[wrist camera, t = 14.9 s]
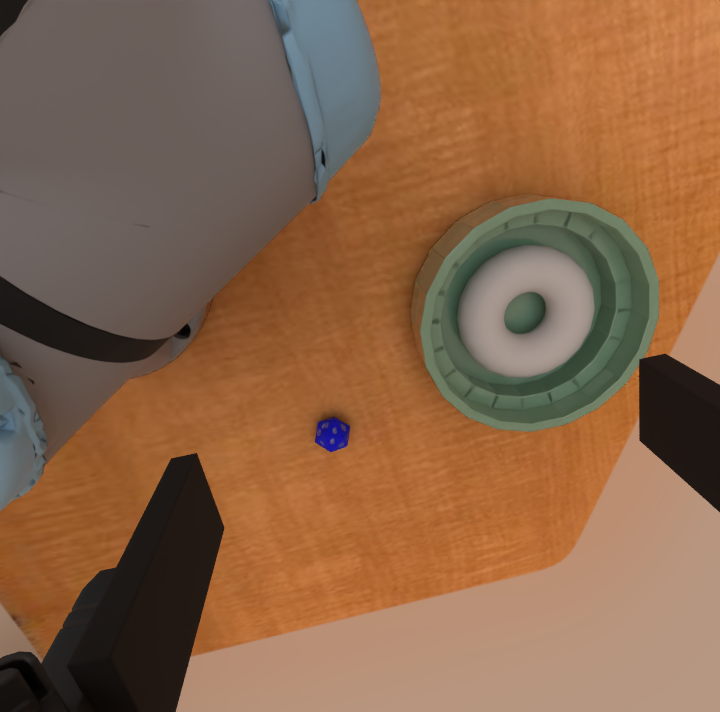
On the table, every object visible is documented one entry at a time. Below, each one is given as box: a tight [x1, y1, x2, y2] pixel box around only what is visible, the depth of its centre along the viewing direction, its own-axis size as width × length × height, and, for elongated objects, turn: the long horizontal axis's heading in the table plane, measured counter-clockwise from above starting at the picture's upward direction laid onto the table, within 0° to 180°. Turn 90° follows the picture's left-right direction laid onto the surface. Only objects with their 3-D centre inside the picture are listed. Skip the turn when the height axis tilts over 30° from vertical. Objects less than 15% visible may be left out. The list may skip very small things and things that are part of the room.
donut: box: [457, 245, 595, 378], centre depth 38 cm, size 10×4×10 cm
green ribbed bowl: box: [410, 194, 659, 432], centre depth 38 cm, size 16×16×5 cm
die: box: [315, 417, 350, 452], centre depth 42 cm, size 3×3×3 cm
